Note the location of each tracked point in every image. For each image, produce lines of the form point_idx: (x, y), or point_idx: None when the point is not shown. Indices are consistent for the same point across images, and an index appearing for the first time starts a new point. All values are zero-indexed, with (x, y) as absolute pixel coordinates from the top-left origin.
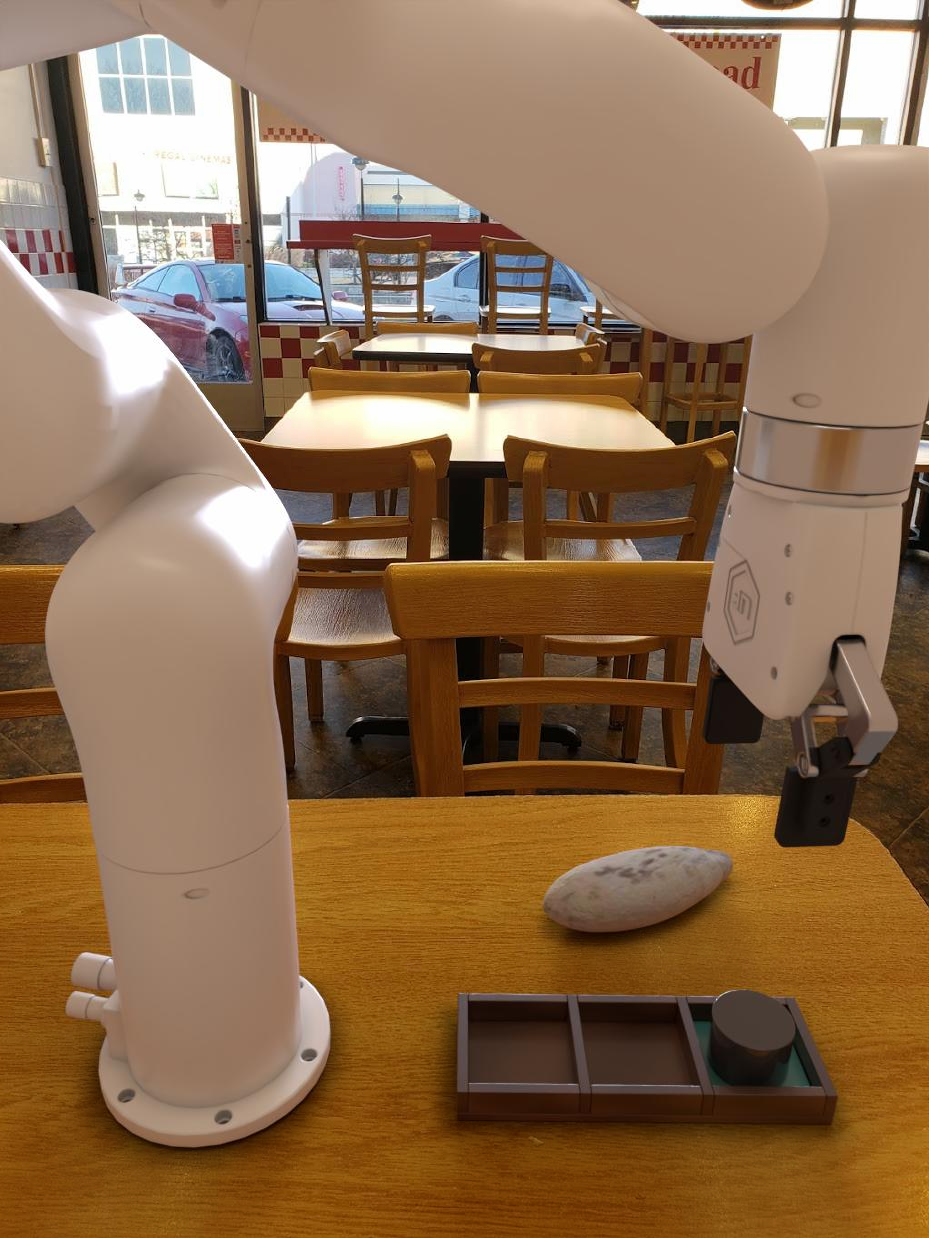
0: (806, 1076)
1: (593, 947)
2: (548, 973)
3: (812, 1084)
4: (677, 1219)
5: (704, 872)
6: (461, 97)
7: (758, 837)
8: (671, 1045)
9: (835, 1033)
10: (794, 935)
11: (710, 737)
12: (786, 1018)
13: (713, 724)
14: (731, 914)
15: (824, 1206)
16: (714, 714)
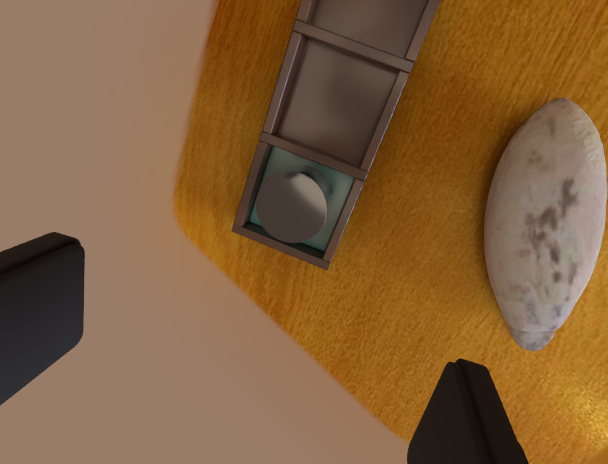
0: None
1: (493, 146)
2: (480, 78)
3: (262, 228)
4: (206, 67)
5: (511, 305)
6: None
7: (561, 404)
8: (338, 147)
9: (309, 284)
10: (416, 333)
11: (451, 371)
12: (282, 235)
13: (457, 401)
14: (468, 302)
15: (191, 174)
16: (465, 427)
